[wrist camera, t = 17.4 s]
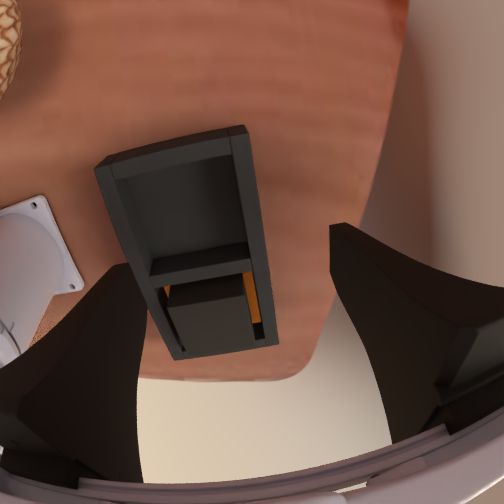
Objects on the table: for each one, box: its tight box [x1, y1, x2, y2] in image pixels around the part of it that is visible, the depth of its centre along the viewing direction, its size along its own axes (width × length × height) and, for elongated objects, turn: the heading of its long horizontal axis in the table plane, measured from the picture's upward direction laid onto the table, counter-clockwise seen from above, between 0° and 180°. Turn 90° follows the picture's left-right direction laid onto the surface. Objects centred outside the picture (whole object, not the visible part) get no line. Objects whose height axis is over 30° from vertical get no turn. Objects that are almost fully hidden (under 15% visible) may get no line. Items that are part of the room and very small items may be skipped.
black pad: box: [167, 273, 256, 356], centre depth 22 cm, size 5×5×3 cm
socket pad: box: [94, 125, 279, 361], centre depth 21 cm, size 8×16×2 cm, turn 8°
